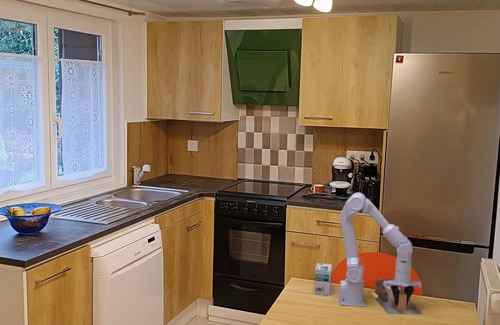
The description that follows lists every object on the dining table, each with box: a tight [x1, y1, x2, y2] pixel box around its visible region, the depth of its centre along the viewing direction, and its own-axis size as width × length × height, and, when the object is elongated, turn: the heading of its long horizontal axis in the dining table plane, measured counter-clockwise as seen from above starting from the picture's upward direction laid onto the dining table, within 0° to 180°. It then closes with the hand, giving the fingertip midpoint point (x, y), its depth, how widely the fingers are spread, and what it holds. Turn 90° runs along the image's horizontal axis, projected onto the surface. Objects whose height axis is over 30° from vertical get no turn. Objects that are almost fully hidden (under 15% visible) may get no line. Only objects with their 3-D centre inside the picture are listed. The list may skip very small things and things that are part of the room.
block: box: [385, 287, 407, 310], centre depth 217 cm, size 5×15×6 cm, turn 3°
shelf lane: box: [374, 278, 424, 315], centre depth 217 cm, size 14×25×6 cm, turn 3°
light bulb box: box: [314, 262, 333, 296], centre depth 229 cm, size 11×7×11 cm, turn 168°
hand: (401, 304), depth 211 cm, fingers closed on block, 3 cm apart
